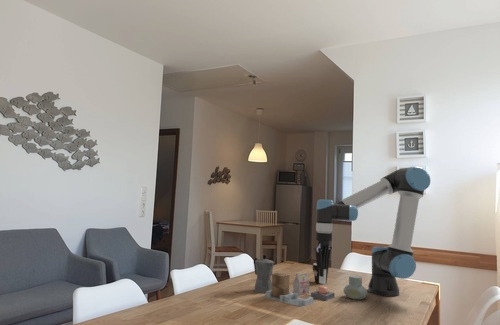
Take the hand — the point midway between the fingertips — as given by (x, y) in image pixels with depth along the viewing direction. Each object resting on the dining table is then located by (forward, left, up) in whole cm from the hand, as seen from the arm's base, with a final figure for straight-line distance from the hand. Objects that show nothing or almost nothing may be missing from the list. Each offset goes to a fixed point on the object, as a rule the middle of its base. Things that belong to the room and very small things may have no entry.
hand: (322, 283), depth 170 cm
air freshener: (-10, -14, -8) cm, 19 cm away
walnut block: (+14, +15, -6) cm, 21 cm away
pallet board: (+9, +15, -7) cm, 19 cm away
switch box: (0, 0, -7) cm, 7 cm away
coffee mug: (+18, -32, -7) cm, 38 cm away
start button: (0, 0, -6) cm, 6 cm away
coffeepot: (+27, +11, -7) cm, 30 cm away
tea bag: (+11, +1, -8) cm, 13 cm away
